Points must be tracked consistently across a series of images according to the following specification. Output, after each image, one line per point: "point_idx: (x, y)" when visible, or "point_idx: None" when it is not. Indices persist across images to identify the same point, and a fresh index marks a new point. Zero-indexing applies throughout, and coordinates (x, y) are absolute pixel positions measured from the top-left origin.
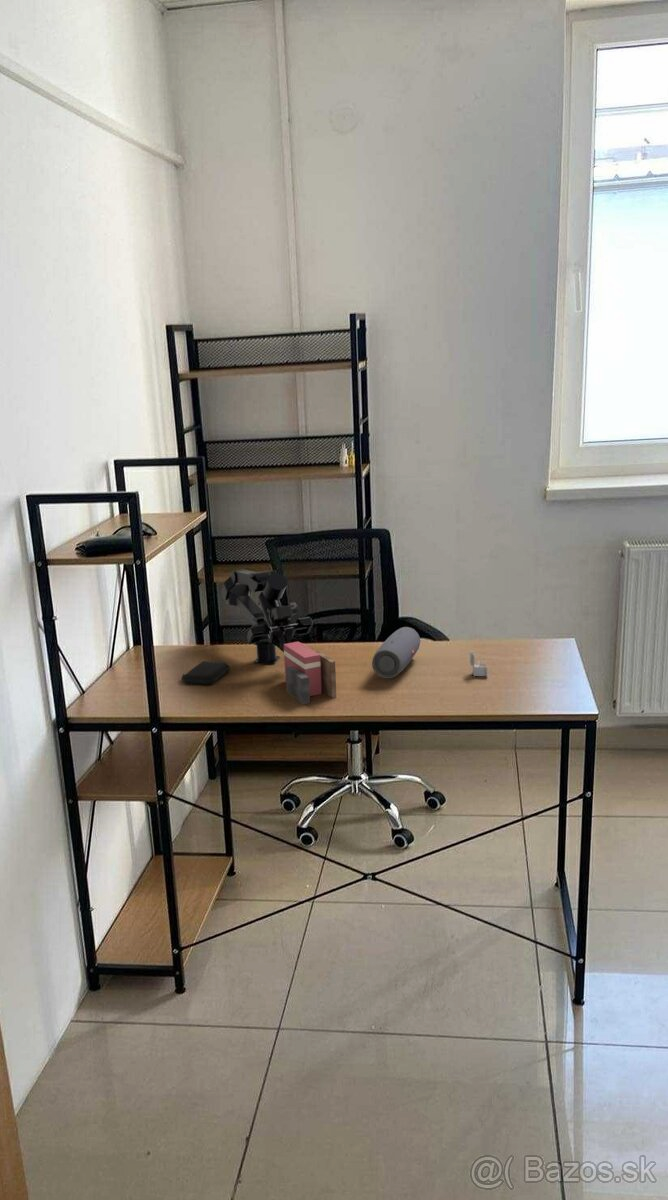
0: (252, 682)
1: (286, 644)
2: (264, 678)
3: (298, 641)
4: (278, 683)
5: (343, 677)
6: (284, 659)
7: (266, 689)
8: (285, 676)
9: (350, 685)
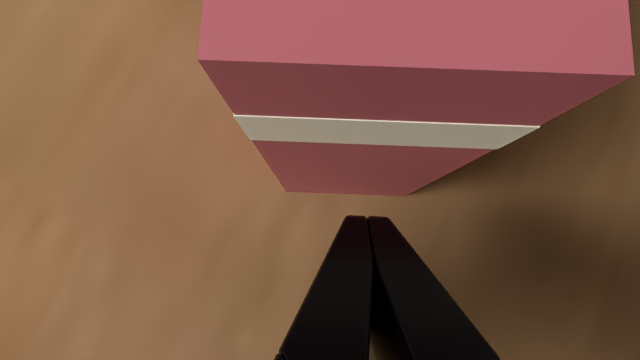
0: (635, 320)
1: (577, 5)
2: (521, 354)
3: (198, 58)
4: (467, 186)
5: (25, 42)
6: (471, 158)
7: (586, 123)
8: (414, 189)
9: None
